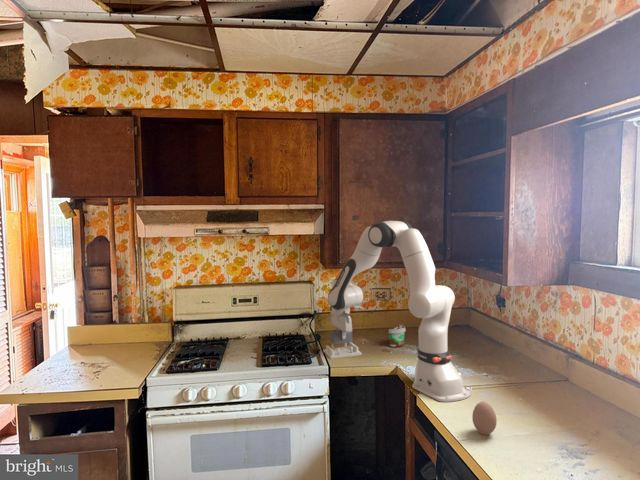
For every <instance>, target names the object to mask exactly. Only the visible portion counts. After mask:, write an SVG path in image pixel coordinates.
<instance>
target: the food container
mask: <svg viewBox="0 0 640 480" xmlns="http://www.w3.org/2000/svg"><path fill="white" fill-rule="evenodd" d="M406 331H407V329H406V327H405V325H404V324H401V323H398V325H397V326H394V327H393V328H388V335H389V347H390V348H391V349H400V348H403V347H404V345H405V332H406Z"/></svg>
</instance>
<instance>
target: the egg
mask: <svg viewBox="0 0 640 480" xmlns="http://www.w3.org/2000/svg"><path fill="white" fill-rule="evenodd" d="M471 415H472V418H471V419H472V423H473V426H474V429H476V430H477V431H478V432H479V433H480V434H482V435H485V436H486V435H490V434H492V433H493V432H494V431H495V429H496V427H497V424H498V423H497V422H498V421H497V415H496V412H495V410H494V408H493V407H492V405H491V404H490V403H488V402H487V401H480V402H478V403H477V404H476V405H475V406H474V408H473V411H472V414H471Z"/></svg>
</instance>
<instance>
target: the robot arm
mask: <svg viewBox="0 0 640 480" xmlns="http://www.w3.org/2000/svg"><path fill="white" fill-rule="evenodd" d="M392 247H396V248H397V249H398V250H399V252H400V255H401V258H402V262H403V264H404V265H403V266H404V267H405V270H406V274H407V276H408V277H407V278H408V282H409V283H408V284H409V293H410V294H409V299H408V301H407V307H408V310H409V312H410V313H411V314H412V316H414V317H415V318H418V319H422V320H421V322H420V325H419V326H418V335H417V336H418V348H417V352H416V353H417V358H418V360H417V363H416V365H415V369H414V371H415V372H414V382H413V383H412V386H411V387H412V389H414V390H416V391H418V392H420V393H423V394H424V395H426V396H428V397H430V398H431V399H434V400H436V401H438V402H443V403H445V402H446V403H448V402H449V403H450V402H456V401H457V402H458V401H462V400H465V399H468V398H470V396H471V392H470V391H468V390H467V389H466V388H465V387H464V381H463V378H462V373H461V372H458V371H457V368H456V367H455V366H454V364H453V363H452V362H451V361H452V358H453V357H452V355H451V354H450V352H449V349H448V333H449V332H448V331H449V323H450V318H451V313H452V308H453V305H454V303H455V300H456V297H455V293H454V291H453V290H452V288H450V287H448V286H447V285H443V284H441V285H440V284H436V278H435V274H436V266H435V264H434V260H433V257H432V255H431V252H430V250H429V247H428V245H427V243H426V241H425V239H424V237H423V235H422V233H421V232H420V230H419V229H417V228H414V227H412V225H411V224H410V223H409V222H407V221H406V220H386V221H385V220H384V221H378V222H376V223H374V224H372V225H370V226H367V227H366V228H365V229H364V231H363V232H362V234H361V236H360V238H359V240H358V243H357V245H356V247H355V250H354V252H353V254H351V256H350V257H349V259H348V260H347V261H346V262H345V263H344V265H343V267H342V269H341V271H340V272H339V275H338V276H337V278H334V279H332V284H331V289H330V291H329V292H328V295H327V301H328V304H329V311H330V321H331V324H332V325H334V326H335V327H336V330H339V329H341V330H342V335H341V336H342V337H341V338H342V339H345V338H346V333H349V332H352V333H353V330H352V329H353V323H352V322H353V321H352V318H351V316H350V315H349V314H351V309H350V308H351V307H354V306H359V305H361V304H363V301H364V298H365V295H364V294H365V293H364V290H363V289H362V287H360V286H359V285H355V284H354V283H352V281H353V278H355V276H357V275H359V274H360V273H362V272H364V271H367V270H370V269H371V268H373V267H374V266H375V265H376V264H377V262H378V261H379V259H380V256H381V253H382V250H383V248H392Z"/></svg>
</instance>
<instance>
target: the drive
mask: <svg viewBox="0 0 640 480" xmlns="http://www.w3.org/2000/svg"><path fill="white" fill-rule="evenodd" d="M353 331H354V330H353V328H352V332H349V333H346V338H345V339H342V338H341V337H342V336H341V335H342V330H341V329H339V330H337V329H332V330H331V329H330V343H331V344H334V345H340V344H344V343H347V344H348V343H349V344H350V342H352V343H353Z"/></svg>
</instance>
